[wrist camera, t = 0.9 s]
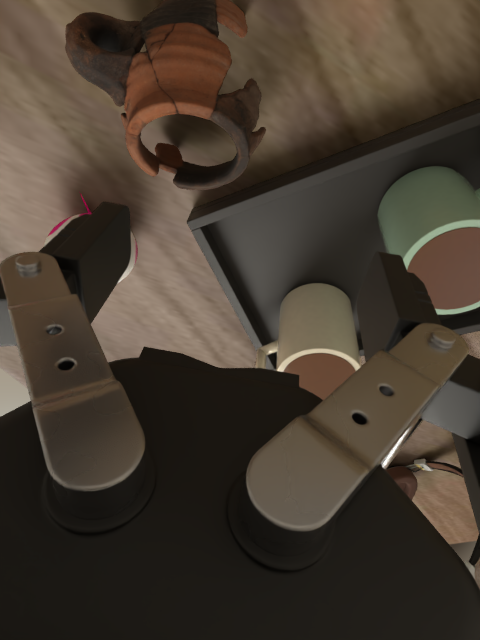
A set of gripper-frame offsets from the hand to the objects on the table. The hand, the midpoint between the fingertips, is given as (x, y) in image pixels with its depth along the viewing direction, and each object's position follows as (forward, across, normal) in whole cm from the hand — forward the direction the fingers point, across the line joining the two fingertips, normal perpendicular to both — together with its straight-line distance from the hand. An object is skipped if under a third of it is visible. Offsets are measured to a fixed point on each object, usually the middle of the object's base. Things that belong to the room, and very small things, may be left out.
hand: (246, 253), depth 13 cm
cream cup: (+18, -5, +15) cm, 24 cm away
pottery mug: (+18, +6, -2) cm, 20 cm away
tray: (+19, -8, +9) cm, 23 cm away
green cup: (+17, -12, +3) cm, 22 cm away
